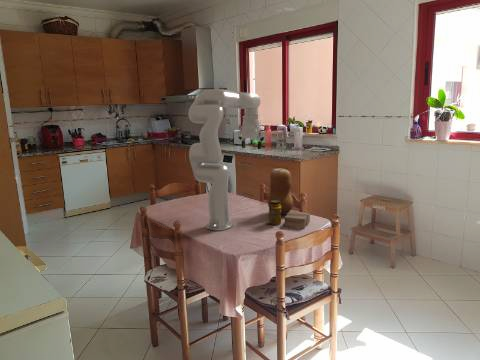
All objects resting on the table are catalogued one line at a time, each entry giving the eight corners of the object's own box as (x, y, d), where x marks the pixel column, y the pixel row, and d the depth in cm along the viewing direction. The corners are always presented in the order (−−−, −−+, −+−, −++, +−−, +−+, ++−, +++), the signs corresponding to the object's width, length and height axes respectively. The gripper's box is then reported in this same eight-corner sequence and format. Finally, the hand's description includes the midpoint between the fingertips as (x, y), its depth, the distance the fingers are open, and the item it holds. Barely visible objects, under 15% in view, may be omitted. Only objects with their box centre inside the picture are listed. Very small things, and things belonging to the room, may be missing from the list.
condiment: (284, 223, 190) (284, 200, 188) (273, 228, 184) (273, 204, 182) (273, 220, 195) (273, 198, 193) (262, 224, 190) (262, 201, 187)
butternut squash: (296, 211, 209) (296, 167, 203) (288, 219, 197) (288, 171, 191) (273, 209, 215) (272, 165, 209) (263, 215, 203) (263, 170, 198)
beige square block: (304, 229, 182) (304, 219, 181) (284, 226, 186) (284, 217, 185) (309, 222, 191) (309, 213, 190) (290, 220, 195) (290, 211, 194)
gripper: (234, 118, 211) (234, 148, 214) (263, 118, 204) (263, 149, 207) (240, 117, 218) (240, 147, 221) (268, 117, 210) (268, 148, 213)
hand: (251, 148), depth 214 cm, fingers open, 9 cm apart
